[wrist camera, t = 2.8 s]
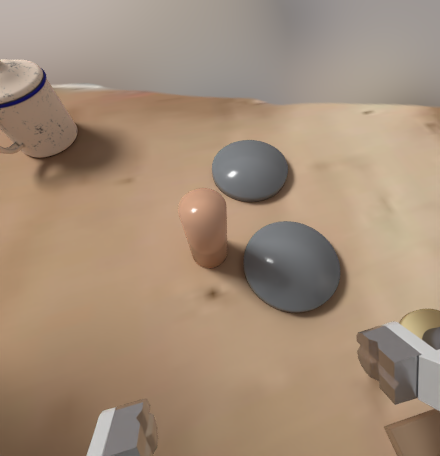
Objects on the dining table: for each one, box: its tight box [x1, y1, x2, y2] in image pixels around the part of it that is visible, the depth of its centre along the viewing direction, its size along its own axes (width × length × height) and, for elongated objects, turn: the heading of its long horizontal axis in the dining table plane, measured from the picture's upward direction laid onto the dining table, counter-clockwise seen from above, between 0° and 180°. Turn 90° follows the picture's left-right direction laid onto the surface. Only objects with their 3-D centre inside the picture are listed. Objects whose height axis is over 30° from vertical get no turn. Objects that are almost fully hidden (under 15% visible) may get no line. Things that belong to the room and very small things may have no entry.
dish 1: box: [212, 140, 288, 202], centre depth 34 cm, size 10×10×1 cm
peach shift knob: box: [178, 188, 227, 268], centre depth 25 cm, size 4×4×9 cm
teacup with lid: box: [0, 59, 78, 157], centre depth 33 cm, size 12×9×12 cm
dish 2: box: [244, 221, 340, 313], centre depth 27 cm, size 10×10×1 cm
